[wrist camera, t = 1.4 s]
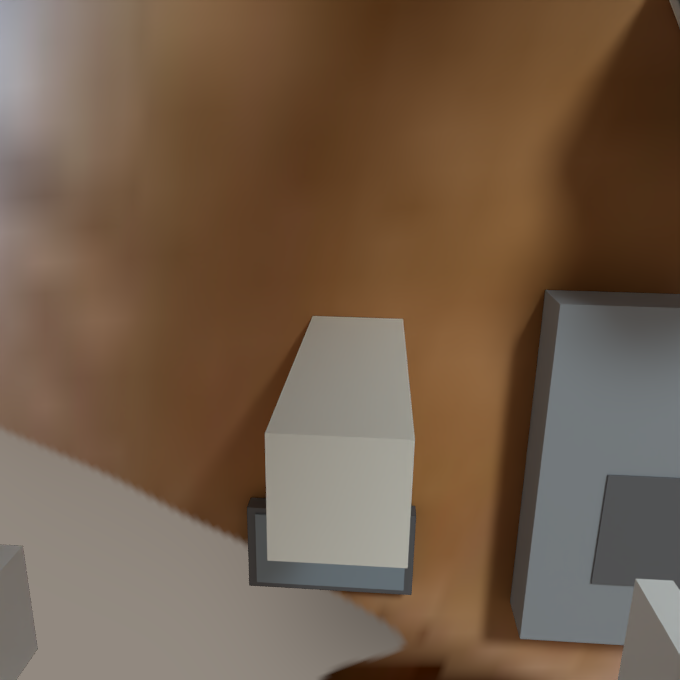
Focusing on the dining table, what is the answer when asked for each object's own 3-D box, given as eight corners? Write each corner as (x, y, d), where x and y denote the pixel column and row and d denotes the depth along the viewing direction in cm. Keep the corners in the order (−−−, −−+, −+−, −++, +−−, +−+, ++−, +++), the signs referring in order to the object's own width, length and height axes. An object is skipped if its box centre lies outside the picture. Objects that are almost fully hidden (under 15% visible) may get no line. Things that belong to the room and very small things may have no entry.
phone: (250, 497, 32) (246, 508, 31) (415, 505, 31) (416, 517, 30) (253, 573, 33) (249, 586, 32) (410, 582, 33) (411, 596, 32)
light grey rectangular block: (312, 316, 29) (264, 433, 17) (403, 318, 29) (414, 439, 17) (312, 399, 30) (267, 560, 19) (399, 403, 30) (407, 568, 18)
